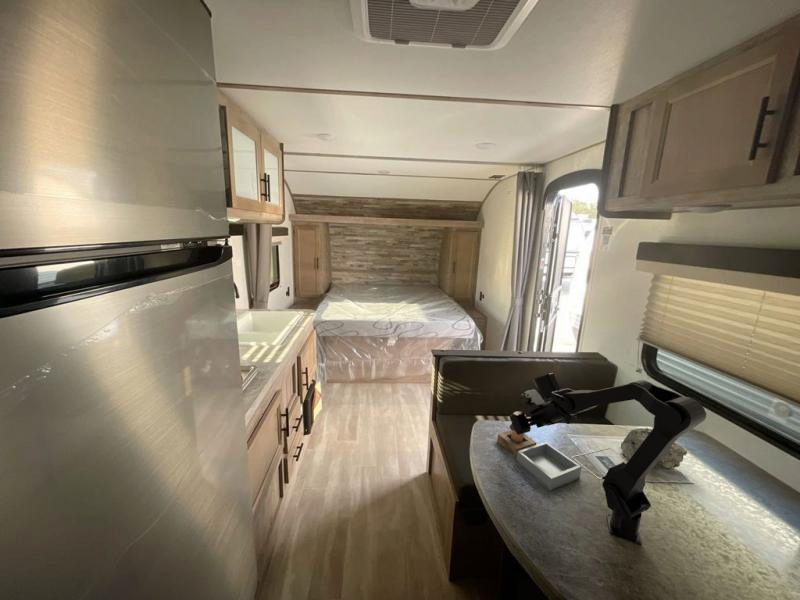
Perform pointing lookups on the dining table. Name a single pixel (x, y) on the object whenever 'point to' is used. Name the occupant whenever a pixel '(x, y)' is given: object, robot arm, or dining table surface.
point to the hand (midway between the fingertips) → (520, 425)
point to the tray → (548, 465)
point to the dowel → (516, 436)
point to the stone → (636, 439)
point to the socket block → (511, 445)
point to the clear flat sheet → (591, 452)
